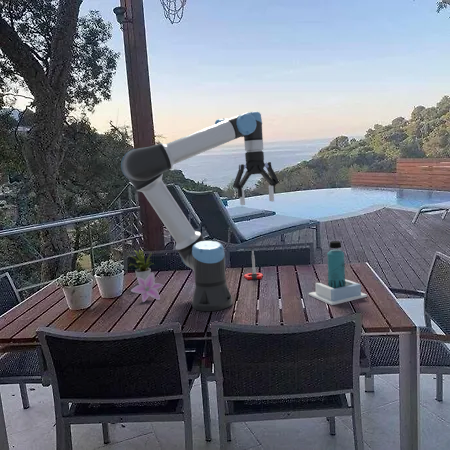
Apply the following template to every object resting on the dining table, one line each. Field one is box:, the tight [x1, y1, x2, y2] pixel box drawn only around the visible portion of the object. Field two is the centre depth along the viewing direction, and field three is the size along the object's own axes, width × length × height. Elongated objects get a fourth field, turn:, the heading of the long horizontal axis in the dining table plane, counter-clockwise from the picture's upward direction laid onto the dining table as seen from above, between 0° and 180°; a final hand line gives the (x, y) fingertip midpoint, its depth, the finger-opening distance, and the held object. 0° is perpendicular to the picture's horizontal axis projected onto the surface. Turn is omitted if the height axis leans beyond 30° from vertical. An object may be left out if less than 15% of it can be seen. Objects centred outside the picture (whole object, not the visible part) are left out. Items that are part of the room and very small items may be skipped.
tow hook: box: [243, 250, 264, 281], centre depth 196 cm, size 8×13×9 cm
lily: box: [130, 271, 164, 303], centre depth 177 cm, size 12×12×10 cm
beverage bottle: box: [326, 240, 346, 289], centre depth 161 cm, size 6×7×20 cm
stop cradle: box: [308, 278, 368, 306], centre depth 162 cm, size 16×14×5 cm
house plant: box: [127, 249, 155, 284], centre depth 200 cm, size 14×14×16 cm
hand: (257, 203), depth 180 cm, fingers open, 13 cm apart
